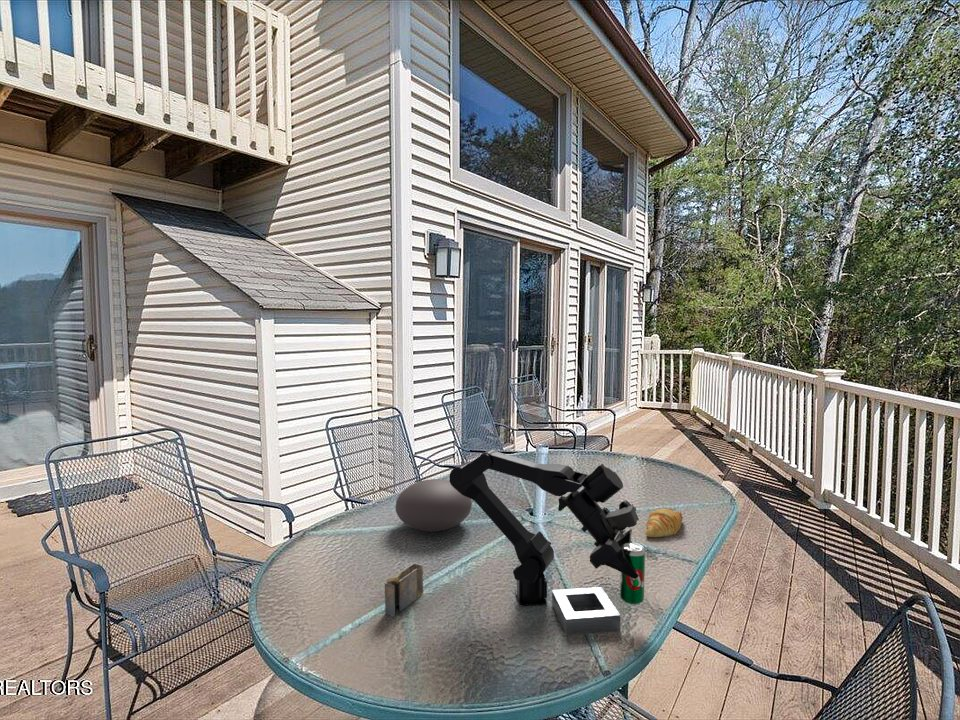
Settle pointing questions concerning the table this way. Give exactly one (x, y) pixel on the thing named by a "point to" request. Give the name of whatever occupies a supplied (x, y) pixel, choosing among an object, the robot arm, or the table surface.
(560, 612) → the sleeve block
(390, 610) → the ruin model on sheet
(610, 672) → the table surface
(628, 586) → the soda can
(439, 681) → the table surface
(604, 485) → the robot arm
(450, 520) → the smooth stone
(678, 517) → the croissant
